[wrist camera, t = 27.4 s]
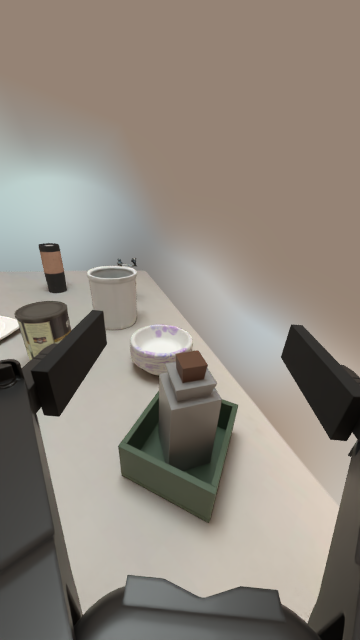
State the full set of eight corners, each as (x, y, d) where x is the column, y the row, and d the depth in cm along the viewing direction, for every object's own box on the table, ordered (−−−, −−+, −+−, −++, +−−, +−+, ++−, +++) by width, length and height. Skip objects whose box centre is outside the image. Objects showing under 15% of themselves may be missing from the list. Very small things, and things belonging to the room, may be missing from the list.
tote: (208, 523, 28) (215, 494, 25) (121, 475, 33) (118, 446, 30) (232, 431, 41) (238, 404, 37) (165, 405, 45) (166, 379, 42)
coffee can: (70, 344, 63) (61, 297, 57) (81, 362, 56) (72, 312, 50) (27, 356, 57) (12, 305, 51) (33, 378, 50) (16, 323, 44)
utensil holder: (133, 332, 71) (130, 279, 63) (86, 329, 71) (78, 276, 63) (141, 313, 84) (140, 267, 76) (102, 311, 84) (97, 264, 76)
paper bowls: (179, 344, 66) (181, 320, 62) (199, 377, 53) (203, 350, 50) (127, 351, 61) (126, 326, 58) (136, 390, 48) (134, 360, 45)
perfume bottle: (195, 426, 40) (205, 342, 32) (210, 463, 34) (227, 371, 26) (158, 435, 38) (159, 347, 30) (168, 475, 33) (172, 381, 25)
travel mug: (44, 291, 99) (33, 244, 90) (59, 286, 106) (50, 242, 97) (57, 294, 97) (47, 246, 88) (71, 289, 103) (63, 244, 94)
